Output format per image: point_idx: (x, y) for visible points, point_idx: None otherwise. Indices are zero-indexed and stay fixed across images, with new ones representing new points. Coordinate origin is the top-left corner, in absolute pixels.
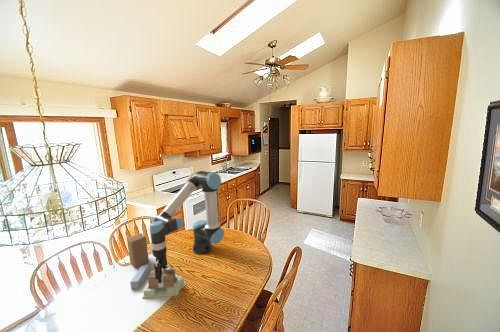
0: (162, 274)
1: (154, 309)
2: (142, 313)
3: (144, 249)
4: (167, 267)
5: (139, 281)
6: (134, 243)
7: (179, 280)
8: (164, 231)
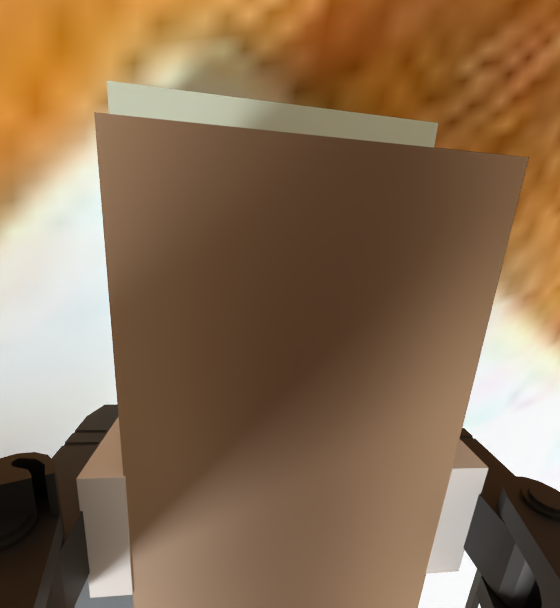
0: (367, 498)
1: (513, 341)
2: (516, 420)
3: None
4: (19, 477)
5: None
6: None
7: (251, 104)
8: None
